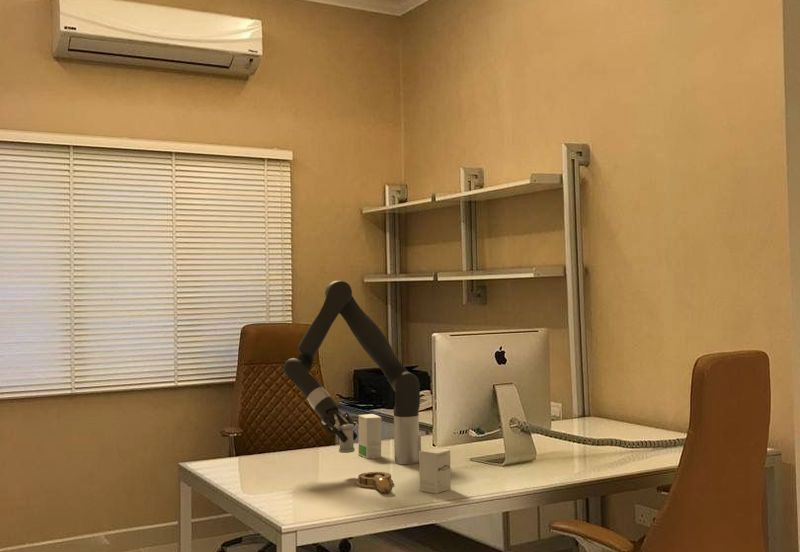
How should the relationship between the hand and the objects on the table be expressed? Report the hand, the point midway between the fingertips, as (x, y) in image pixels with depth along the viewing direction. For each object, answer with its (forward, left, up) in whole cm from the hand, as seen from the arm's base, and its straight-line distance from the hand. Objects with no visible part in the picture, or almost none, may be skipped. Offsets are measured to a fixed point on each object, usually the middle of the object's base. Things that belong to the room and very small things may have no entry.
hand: (350, 439), depth 289 cm
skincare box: (-15, -31, -13) cm, 37 cm away
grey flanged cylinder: (+1, -1, -4) cm, 5 cm away
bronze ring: (-5, +19, -12) cm, 23 cm away
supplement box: (-21, +30, -13) cm, 38 cm away
